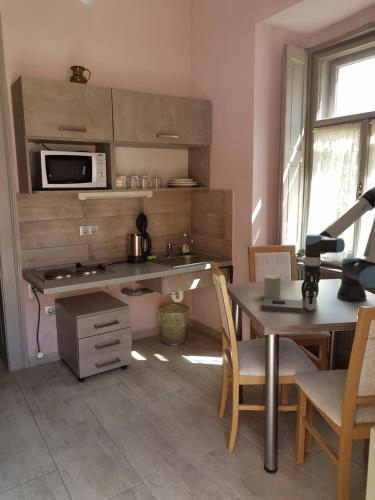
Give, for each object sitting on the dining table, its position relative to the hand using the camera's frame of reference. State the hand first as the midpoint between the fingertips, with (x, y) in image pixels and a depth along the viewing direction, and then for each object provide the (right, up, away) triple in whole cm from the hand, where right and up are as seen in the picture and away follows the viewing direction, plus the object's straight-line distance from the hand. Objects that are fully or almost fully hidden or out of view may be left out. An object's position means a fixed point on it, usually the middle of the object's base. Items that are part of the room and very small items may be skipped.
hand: (310, 307), depth 206 cm
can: (-15, +3, +21) cm, 26 cm away
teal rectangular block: (0, 0, 0) cm, 0 cm away
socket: (-14, 0, 0) cm, 14 cm away
